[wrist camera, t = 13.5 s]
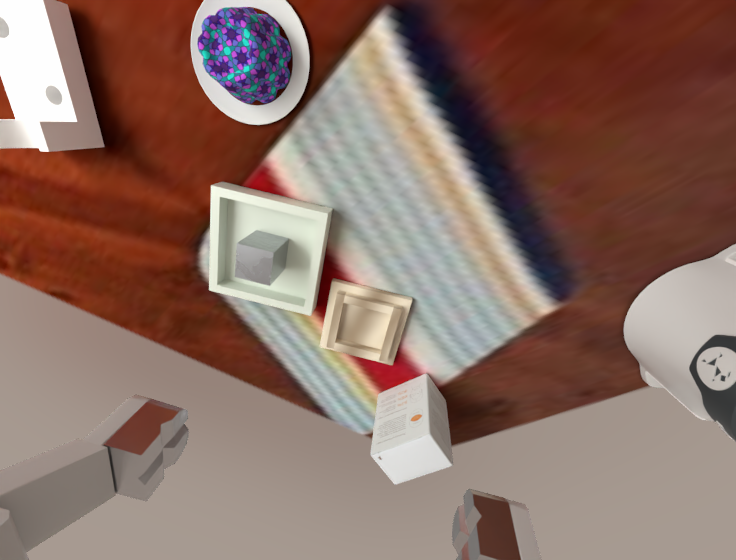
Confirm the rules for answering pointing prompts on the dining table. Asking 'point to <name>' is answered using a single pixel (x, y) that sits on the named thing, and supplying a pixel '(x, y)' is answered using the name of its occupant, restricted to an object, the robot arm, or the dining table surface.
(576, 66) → the dining table surface
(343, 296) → the socket holder
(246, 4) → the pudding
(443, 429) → the small box
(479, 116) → the dining table surface
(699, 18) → the dining table surface
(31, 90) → the bracket
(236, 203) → the tray
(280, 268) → the gray block
